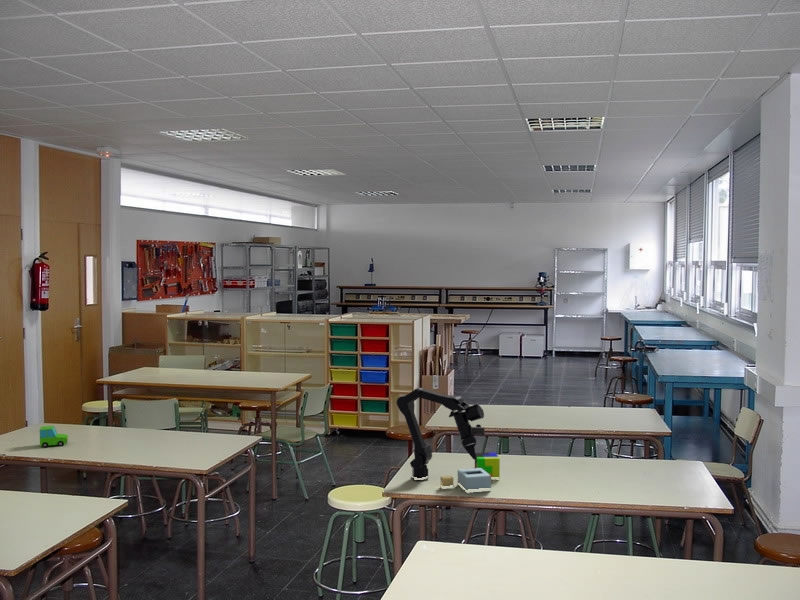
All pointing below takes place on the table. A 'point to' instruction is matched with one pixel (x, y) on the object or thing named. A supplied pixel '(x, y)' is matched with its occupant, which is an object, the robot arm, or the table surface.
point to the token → (446, 480)
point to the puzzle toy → (488, 463)
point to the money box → (474, 478)
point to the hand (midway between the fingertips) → (474, 457)
